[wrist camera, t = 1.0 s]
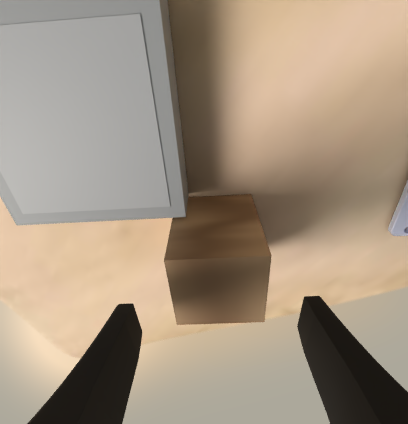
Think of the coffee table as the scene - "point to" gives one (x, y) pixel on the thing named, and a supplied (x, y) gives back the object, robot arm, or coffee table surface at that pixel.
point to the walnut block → (218, 262)
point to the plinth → (89, 112)
